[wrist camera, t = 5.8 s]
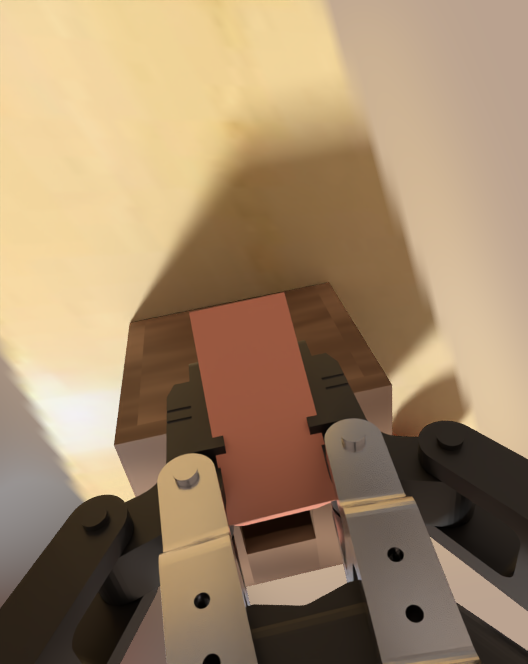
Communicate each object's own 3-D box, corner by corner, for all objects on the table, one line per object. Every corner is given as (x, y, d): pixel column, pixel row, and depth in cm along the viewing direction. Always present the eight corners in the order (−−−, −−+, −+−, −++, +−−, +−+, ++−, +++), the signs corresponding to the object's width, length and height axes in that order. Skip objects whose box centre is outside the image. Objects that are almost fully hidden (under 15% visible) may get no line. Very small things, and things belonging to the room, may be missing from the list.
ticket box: (129, 322, 32) (113, 445, 23) (331, 281, 33) (396, 384, 24) (177, 464, 39) (180, 602, 30) (342, 427, 40) (395, 551, 30)
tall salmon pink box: (213, 375, 18) (189, 312, 12) (281, 360, 18) (284, 292, 13) (243, 525, 16) (228, 525, 11) (317, 507, 16) (339, 499, 11)
